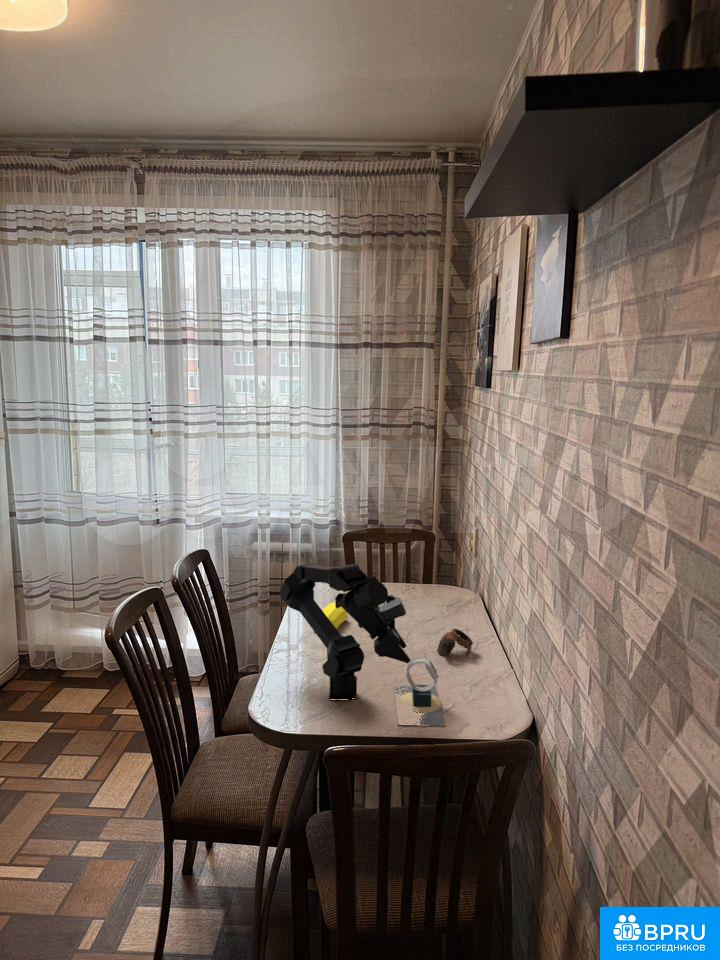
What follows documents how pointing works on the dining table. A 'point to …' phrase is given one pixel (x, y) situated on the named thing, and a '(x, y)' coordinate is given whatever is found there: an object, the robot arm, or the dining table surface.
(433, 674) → the watch
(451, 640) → the brown curved piece
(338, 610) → the yellow faceted lump
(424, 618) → the dining table surface
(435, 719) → the mat
